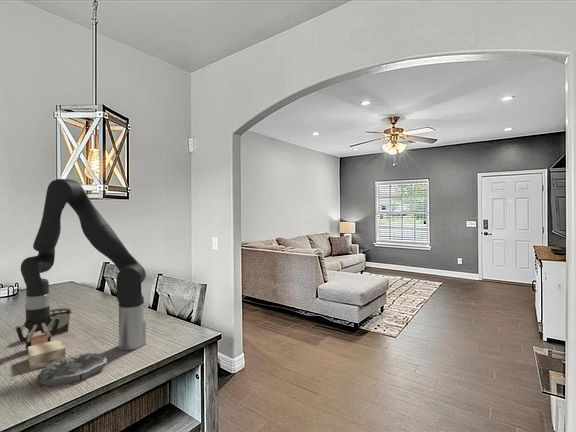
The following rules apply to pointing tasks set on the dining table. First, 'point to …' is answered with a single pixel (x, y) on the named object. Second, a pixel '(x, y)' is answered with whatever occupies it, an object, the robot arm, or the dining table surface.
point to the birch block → (45, 353)
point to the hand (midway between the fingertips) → (38, 347)
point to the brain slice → (72, 369)
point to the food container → (60, 320)
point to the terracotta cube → (39, 339)
